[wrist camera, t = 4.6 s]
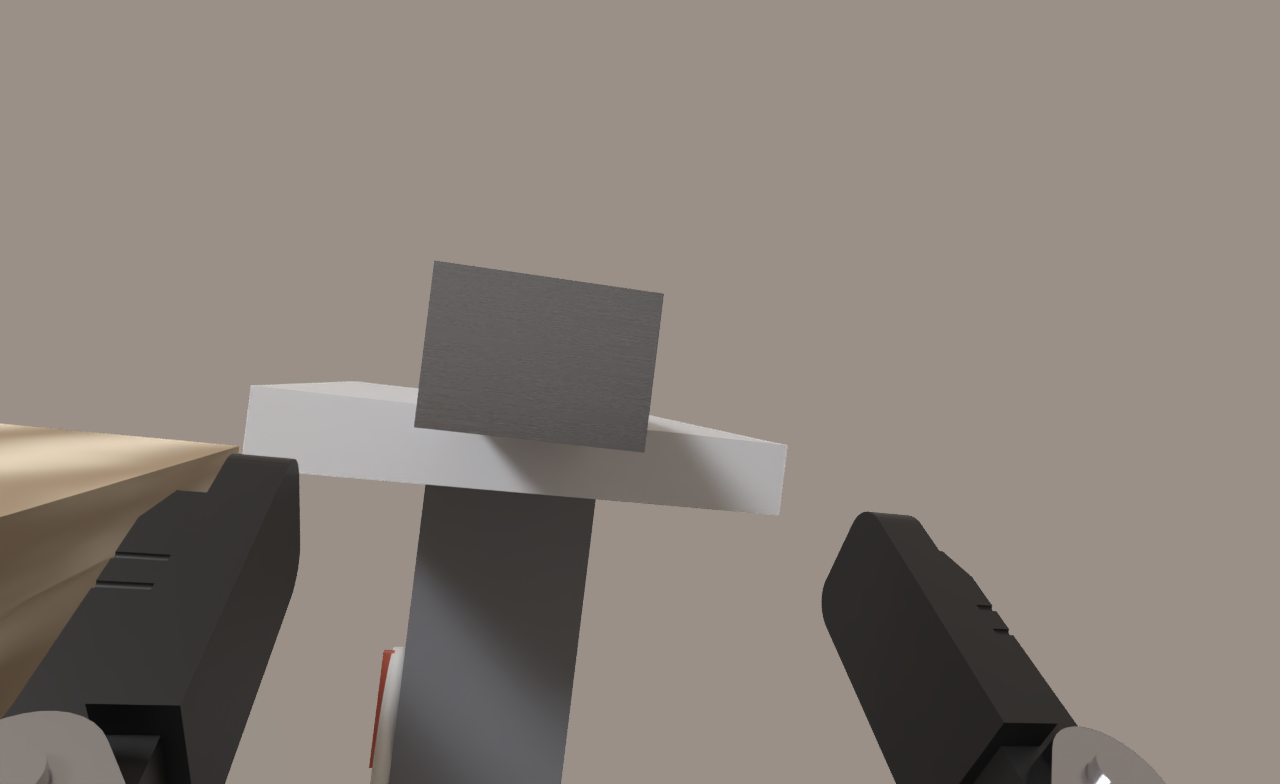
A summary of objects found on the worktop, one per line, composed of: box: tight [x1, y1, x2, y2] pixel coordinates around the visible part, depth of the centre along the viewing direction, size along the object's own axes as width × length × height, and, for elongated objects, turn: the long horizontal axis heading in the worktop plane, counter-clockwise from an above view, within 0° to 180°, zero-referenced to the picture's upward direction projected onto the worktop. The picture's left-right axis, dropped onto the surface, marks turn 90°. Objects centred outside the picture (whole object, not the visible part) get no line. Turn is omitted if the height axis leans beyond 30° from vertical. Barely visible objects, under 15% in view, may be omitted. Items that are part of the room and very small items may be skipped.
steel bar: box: [414, 261, 664, 453], centre depth 23 cm, size 4×24×2 cm, turn 9°
